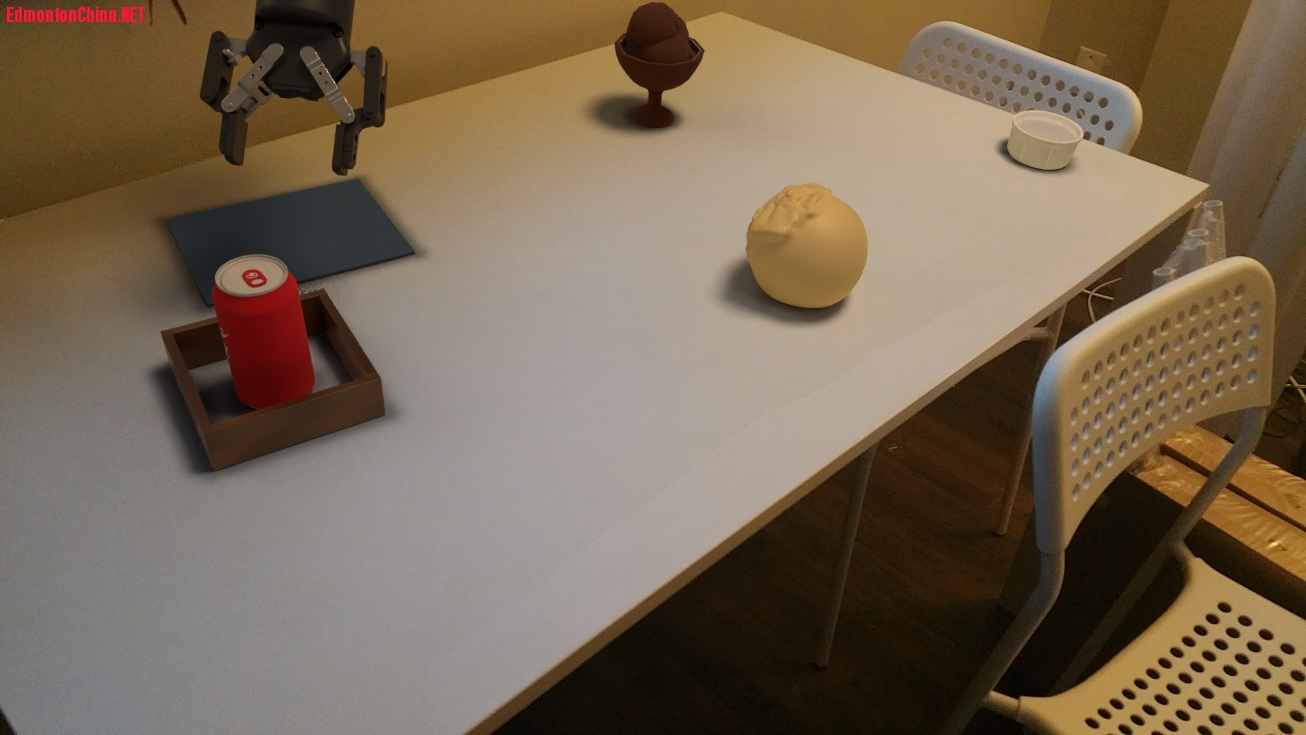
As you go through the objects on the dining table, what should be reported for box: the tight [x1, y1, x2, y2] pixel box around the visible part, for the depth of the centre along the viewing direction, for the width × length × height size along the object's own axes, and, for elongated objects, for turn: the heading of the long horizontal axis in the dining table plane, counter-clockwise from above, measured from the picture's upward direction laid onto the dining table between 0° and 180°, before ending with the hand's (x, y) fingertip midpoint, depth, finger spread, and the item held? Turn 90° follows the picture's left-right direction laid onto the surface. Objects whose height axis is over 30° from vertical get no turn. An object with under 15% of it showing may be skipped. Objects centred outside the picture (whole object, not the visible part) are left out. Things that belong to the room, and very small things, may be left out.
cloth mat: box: [165, 177, 416, 308], centre depth 99 cm, size 20×16×1 cm
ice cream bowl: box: [613, 1, 706, 128], centre depth 122 cm, size 11×11×15 cm
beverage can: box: [212, 254, 316, 410], centre depth 78 cm, size 6×6×12 cm
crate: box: [160, 288, 386, 472], centre depth 81 cm, size 14×14×4 cm
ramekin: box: [1006, 109, 1085, 171], centre depth 127 cm, size 9×9×4 cm
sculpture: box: [745, 182, 869, 309], centre depth 97 cm, size 12×12×11 cm
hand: (286, 168), depth 80 cm, fingers open, 8 cm apart
